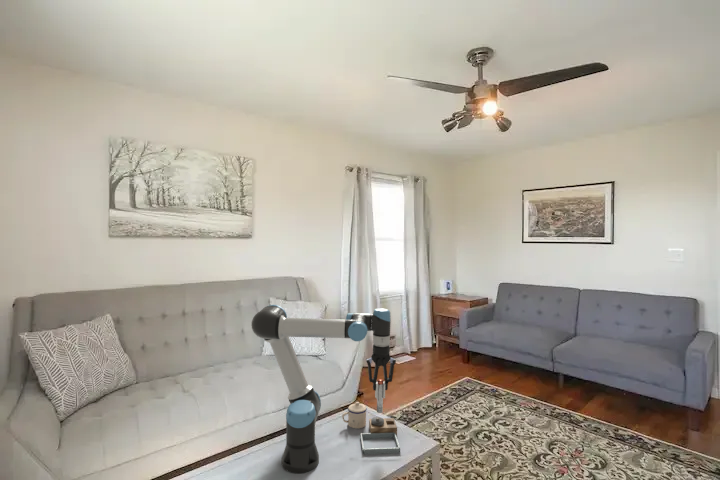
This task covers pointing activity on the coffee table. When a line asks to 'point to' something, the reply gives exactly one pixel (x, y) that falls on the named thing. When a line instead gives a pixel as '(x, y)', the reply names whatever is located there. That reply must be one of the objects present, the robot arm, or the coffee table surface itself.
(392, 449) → the tray
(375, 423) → the tan wooden block
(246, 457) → the coffee table surface
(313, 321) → the robot arm
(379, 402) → the pin
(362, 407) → the teacup with lid
